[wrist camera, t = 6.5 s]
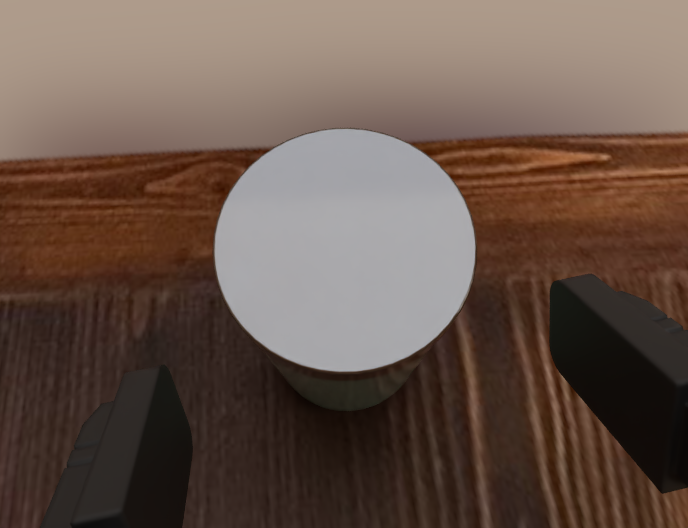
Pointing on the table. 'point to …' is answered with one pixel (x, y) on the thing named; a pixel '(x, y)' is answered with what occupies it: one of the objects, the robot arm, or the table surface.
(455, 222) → the jar
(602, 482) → the table surface
